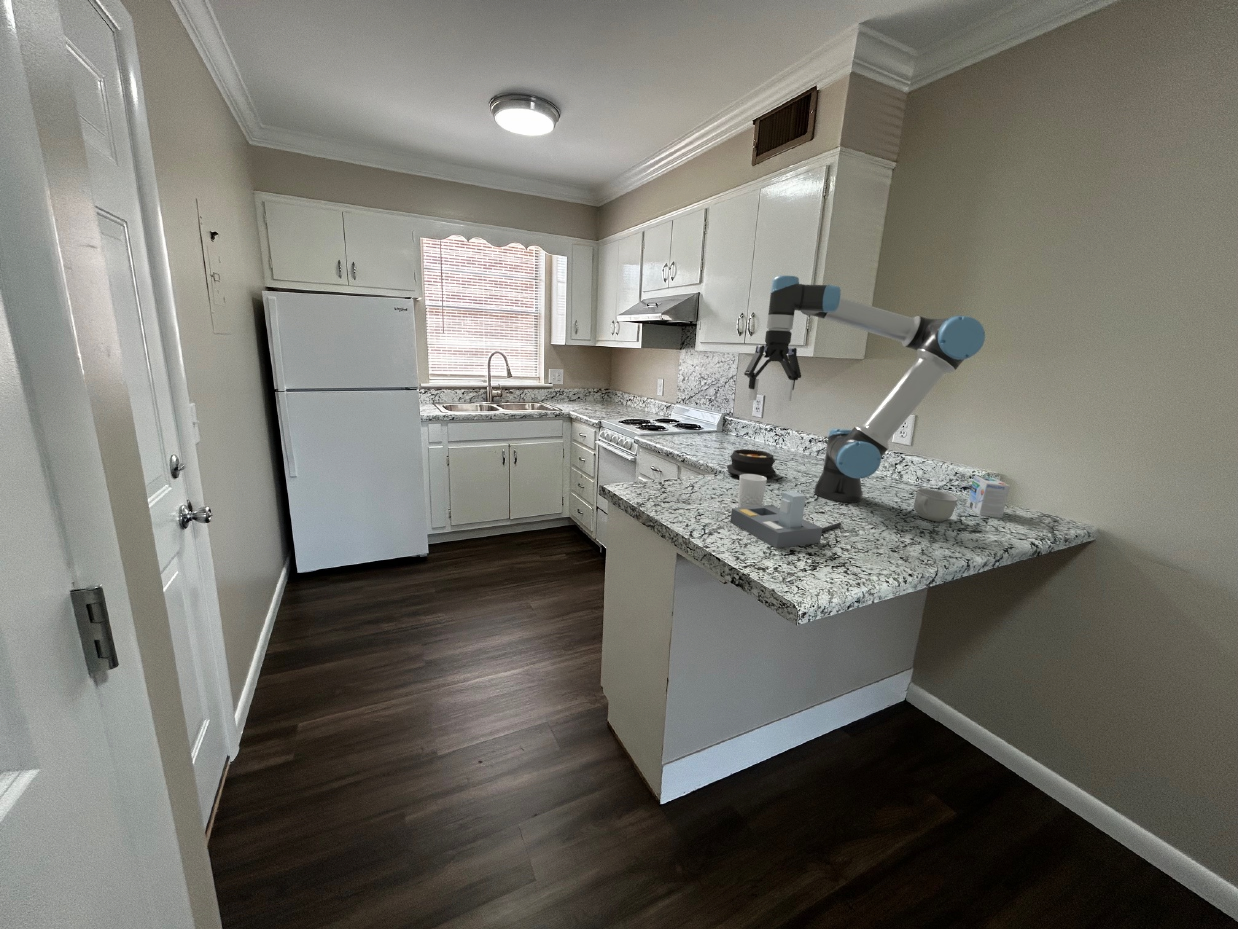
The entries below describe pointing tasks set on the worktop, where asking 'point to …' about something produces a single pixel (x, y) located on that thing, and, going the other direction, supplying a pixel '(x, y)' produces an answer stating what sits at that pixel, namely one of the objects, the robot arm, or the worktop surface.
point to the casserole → (751, 463)
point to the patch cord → (831, 527)
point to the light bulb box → (988, 496)
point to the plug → (791, 509)
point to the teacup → (934, 504)
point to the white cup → (751, 490)
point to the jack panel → (774, 527)
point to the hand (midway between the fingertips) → (770, 400)
